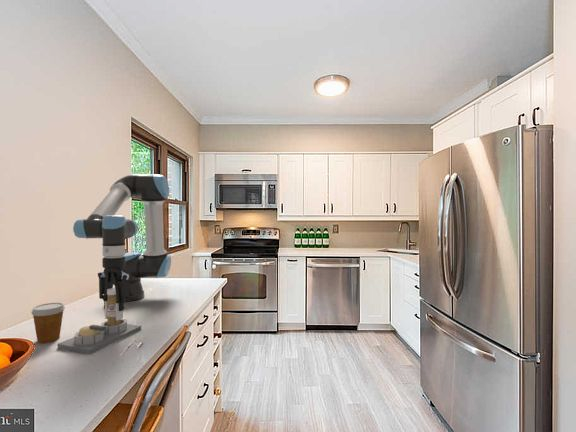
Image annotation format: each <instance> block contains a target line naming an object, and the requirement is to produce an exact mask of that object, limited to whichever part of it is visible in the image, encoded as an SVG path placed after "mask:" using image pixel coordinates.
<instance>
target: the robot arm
mask: <svg viewBox="0 0 576 432" xmlns="http://www.w3.org/2000/svg"><path fill="white" fill-rule="evenodd" d="M169 196H170V185H169V182H168V180H167V177H166V176H164V175H163V174H156V173H155V174H151V173H150V174H146V173H145V174H144V173H143V174H141V173H139V174H137V173H133V174H129V175H126V176H123V177H121V178H119V179H118V180H116V181H115V182H114V183H113V184H112V185H111V186H110V187H109V192H108V193H107V194H106V196H105V197H104V198H103V199H102V201H100V203H99V204H98V205H97V206H96V207H95V209H94V210H93V211H92V212H91V213H90V215H89V216H88V217H87V218H86V219H85V218H82V219H78V220H76V221H75V222H74V223H73V228H72V231H73V233H74V236H75V237H77V238H78V239H87V240H88V239H102V261H101V262H102V266H101V267H102V268H103V271H101V272H98V273H97V277H98V289H99V290H98V295H99V296H98V297H99V299H100V300H102V301H103V309H104V319H105V320H107V300H108V296H107V289H109V288H115V290H116V296H117V302H116V320H120V319H124V310H125V303H126V302H133V301H137V300H140V299H142V298H145V290H144V287H143V286H142V285H143V284H142V279H148V278H149V279H152V278H153V279H161V278H166V277H167V276H168V275H169V272H170V269H171V265H172V256H171V255H170V254H168V251H167V250H166V249H165V248H164V247H165V244H164V243H165V241H164V240H165V239H164V216H163V215H164V214H163V213H164V212H163V211H164V210H163V204H164V203H165V202H166V200H167V198H168V197H169ZM130 198H140V202H142V204H143V205H144V219H145V220H144V224H145V228H144V229H145V250H144V252H143V253H141V252H131V253H126V239H130V238H132V237H134V236H135V235H137V233H138V231H139V225H138V224H137V222H136V221H135V220H133V219H126V217H125V216H124V215H121V214H120V215H118V214H117V212H118V211H119V210H120V208H121V207H122V206H123V205H124V203H125V202H127V201H128V200H130ZM142 254H143V255H142Z"/></svg>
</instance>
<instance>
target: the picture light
mask: <svg viewBox="0 0 576 432" xmlns="http://www.w3.org/2000/svg"><path fill="white" fill-rule="evenodd" d="M136 340H137V337H136V338H134V339H133V340H132V341H130V342H129V344H128V345H127V347H125V349H124V350H123V351H122V352H121V353H120V354H119V357H122V356H123V355H124V354H125V353H126V352H127V350H128V349H129V348H130V347H131V346H132V345H133V344H135V343H136ZM143 344H144V343H143V342H142V341H141V342H139V343H138V344H135V347H136V350H139V348H140V346H141V345H143Z"/></svg>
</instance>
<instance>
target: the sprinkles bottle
mask: <svg viewBox="0 0 576 432" xmlns="http://www.w3.org/2000/svg"><path fill="white" fill-rule="evenodd" d="M107 296H108V300H107V319H106V321H107V325H108V326H114V325H118V324H120V323H121V322H120V320H116V302H117V296H116V290H115V287H113V288H109V289H107Z"/></svg>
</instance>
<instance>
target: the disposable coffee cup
mask: <svg viewBox="0 0 576 432" xmlns="http://www.w3.org/2000/svg"><path fill="white" fill-rule="evenodd" d="M65 308H66V306H65V305H64V303H63V302H49V303H41V304H39V305H38V304H37V305H36V306H34V307H33V308H32V310H31V313H30V314H31V315H32V318H33V324H34V329H35V333H36V334H35V336H36V342H37V343H38V344H45V343H47V344H48V343H52V342H55V341H57V340H58V339H60V336H61V329H62V322H63V316H64V310H65Z"/></svg>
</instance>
